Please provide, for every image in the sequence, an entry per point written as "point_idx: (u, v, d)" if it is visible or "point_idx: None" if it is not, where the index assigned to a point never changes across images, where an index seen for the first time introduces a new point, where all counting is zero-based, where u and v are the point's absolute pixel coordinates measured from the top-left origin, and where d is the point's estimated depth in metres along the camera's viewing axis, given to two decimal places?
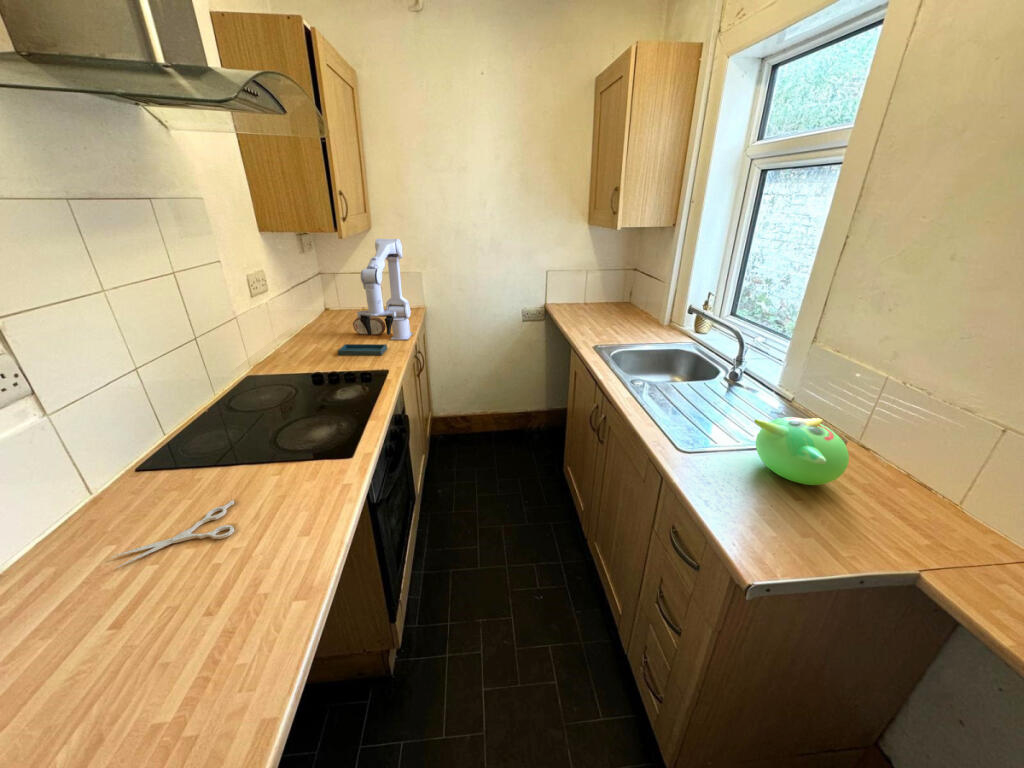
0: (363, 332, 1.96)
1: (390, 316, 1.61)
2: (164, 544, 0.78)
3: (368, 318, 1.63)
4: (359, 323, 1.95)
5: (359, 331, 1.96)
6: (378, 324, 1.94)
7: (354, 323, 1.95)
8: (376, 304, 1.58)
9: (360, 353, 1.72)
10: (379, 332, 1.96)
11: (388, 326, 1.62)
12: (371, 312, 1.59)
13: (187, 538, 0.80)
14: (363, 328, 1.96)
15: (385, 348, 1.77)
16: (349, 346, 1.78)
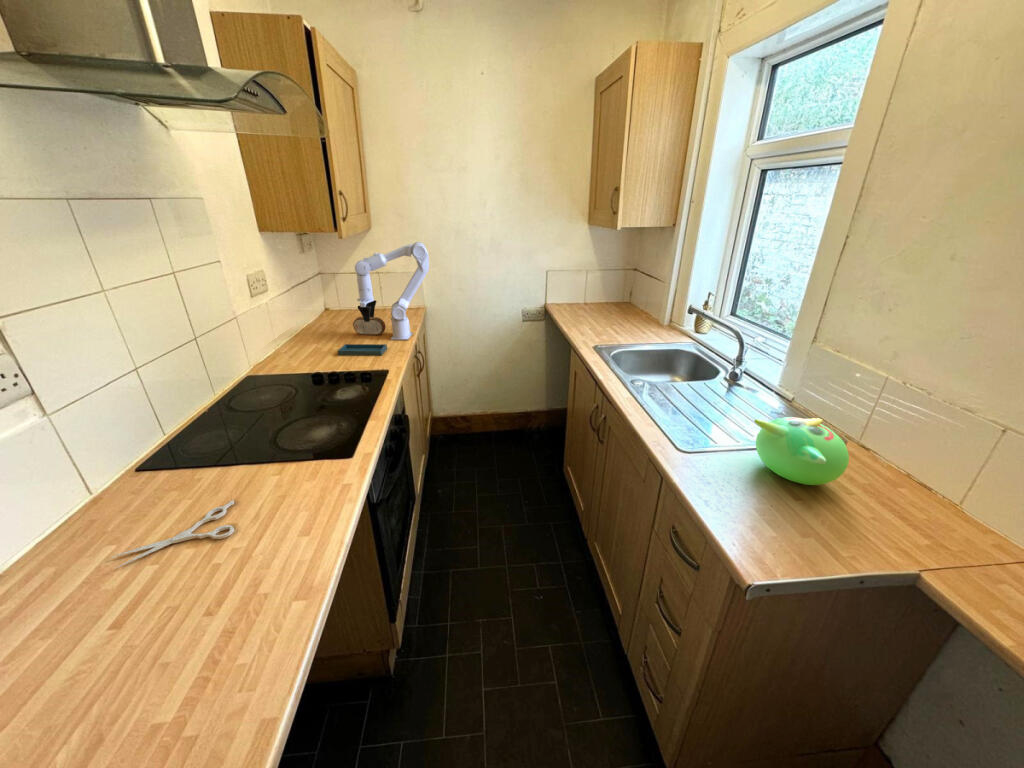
0: (363, 332, 1.96)
1: None
2: (164, 544, 0.78)
3: (370, 303, 1.88)
4: (359, 323, 1.95)
5: (359, 331, 1.96)
6: (378, 324, 1.94)
7: (354, 323, 1.95)
8: None
9: (360, 353, 1.72)
10: (379, 332, 1.96)
11: None
12: None
13: (187, 538, 0.80)
14: (363, 328, 1.96)
15: (385, 348, 1.77)
16: (349, 346, 1.78)
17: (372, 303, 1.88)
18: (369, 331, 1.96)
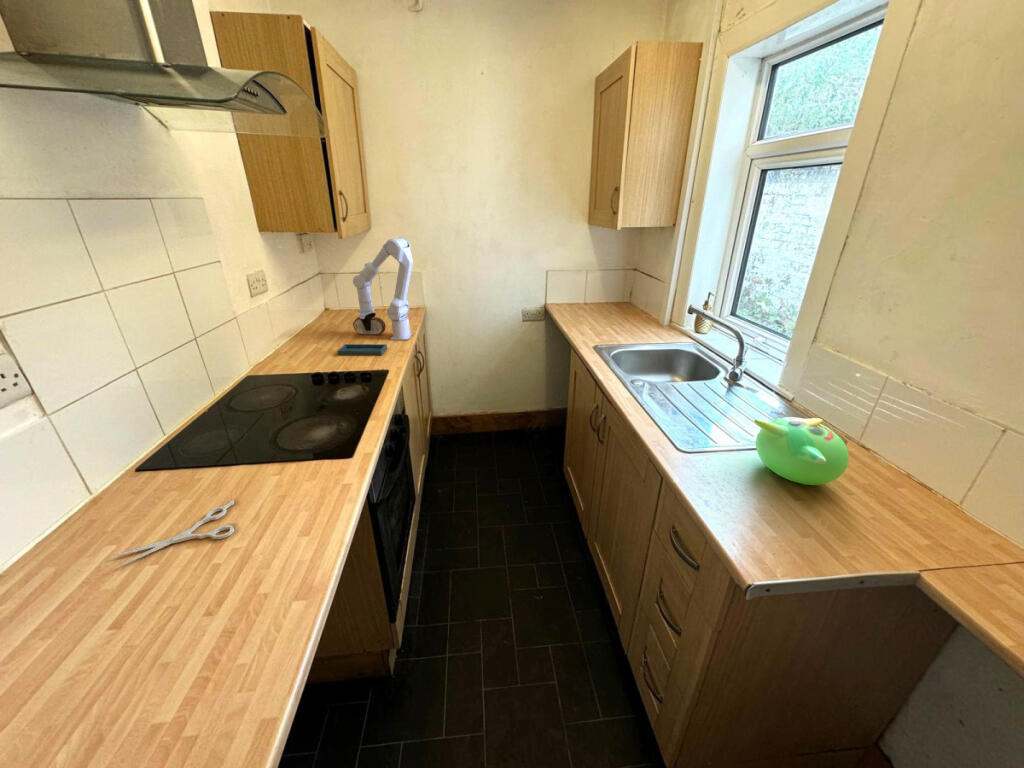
0: (363, 332, 1.96)
1: None
2: (164, 544, 0.78)
3: (370, 315, 1.95)
4: (359, 323, 1.95)
5: (359, 331, 1.96)
6: (378, 323, 1.94)
7: (354, 323, 1.95)
8: (359, 303, 1.90)
9: (360, 353, 1.72)
10: (379, 332, 1.96)
11: None
12: None
13: (187, 538, 0.80)
14: (363, 328, 1.96)
15: (385, 348, 1.77)
16: (349, 346, 1.78)
17: (371, 315, 1.95)
18: (369, 331, 1.96)
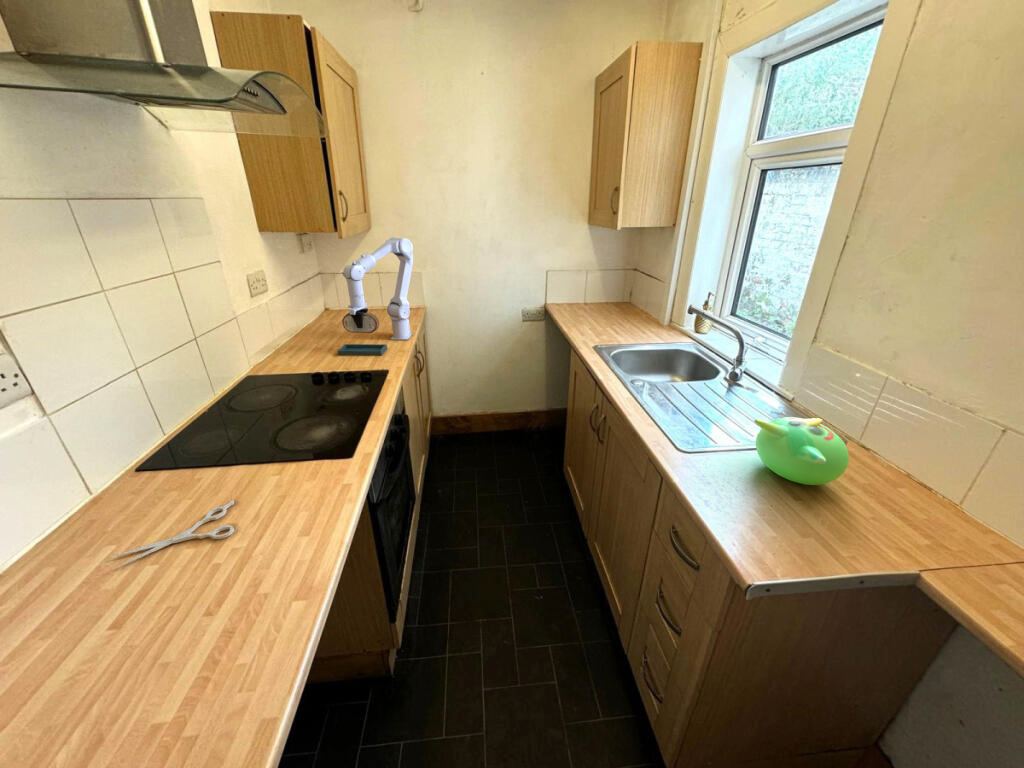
0: (354, 330, 1.76)
1: None
2: (164, 544, 0.78)
3: (361, 311, 1.75)
4: (349, 319, 1.74)
5: (349, 329, 1.76)
6: (371, 320, 1.74)
7: (344, 320, 1.74)
8: (349, 297, 1.70)
9: (360, 353, 1.72)
10: (372, 329, 1.75)
11: None
12: None
13: (187, 538, 0.80)
14: (354, 325, 1.75)
15: (385, 348, 1.77)
16: (349, 346, 1.78)
17: (363, 311, 1.75)
18: (360, 328, 1.75)
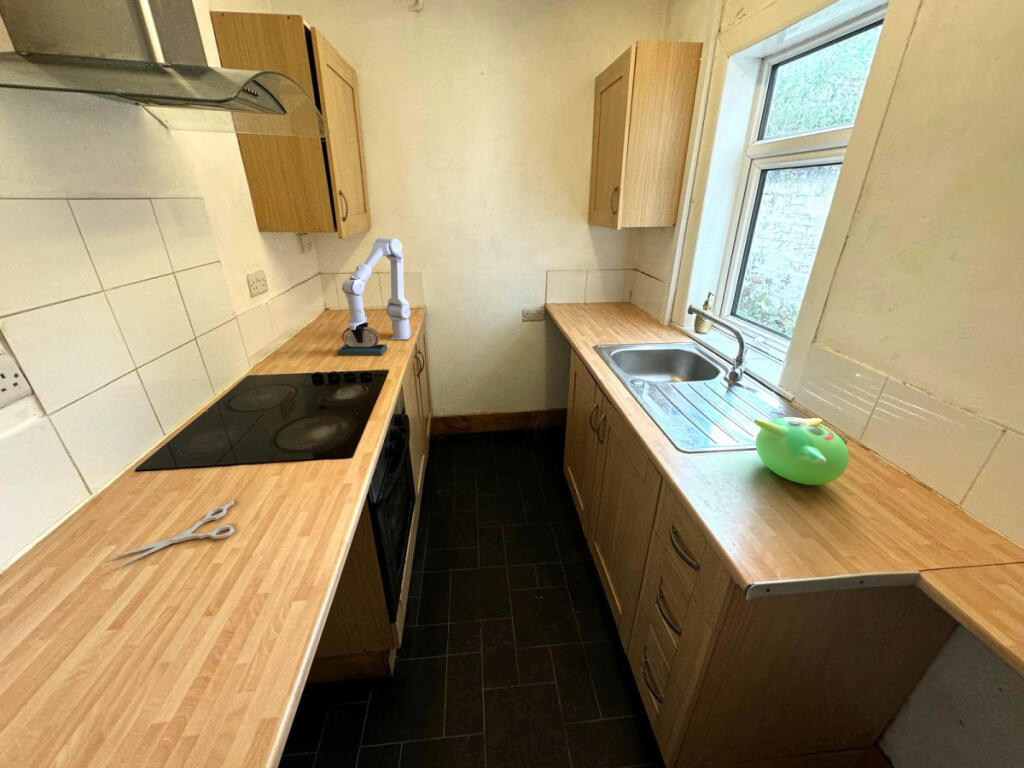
0: (354, 344, 1.73)
1: None
2: (164, 544, 0.78)
3: (361, 325, 1.72)
4: (349, 334, 1.71)
5: (349, 343, 1.73)
6: (371, 334, 1.71)
7: (343, 334, 1.71)
8: (349, 312, 1.67)
9: (360, 353, 1.72)
10: (372, 344, 1.73)
11: None
12: None
13: (187, 538, 0.80)
14: (354, 340, 1.72)
15: (385, 348, 1.77)
16: None
17: (363, 326, 1.72)
18: (361, 343, 1.73)
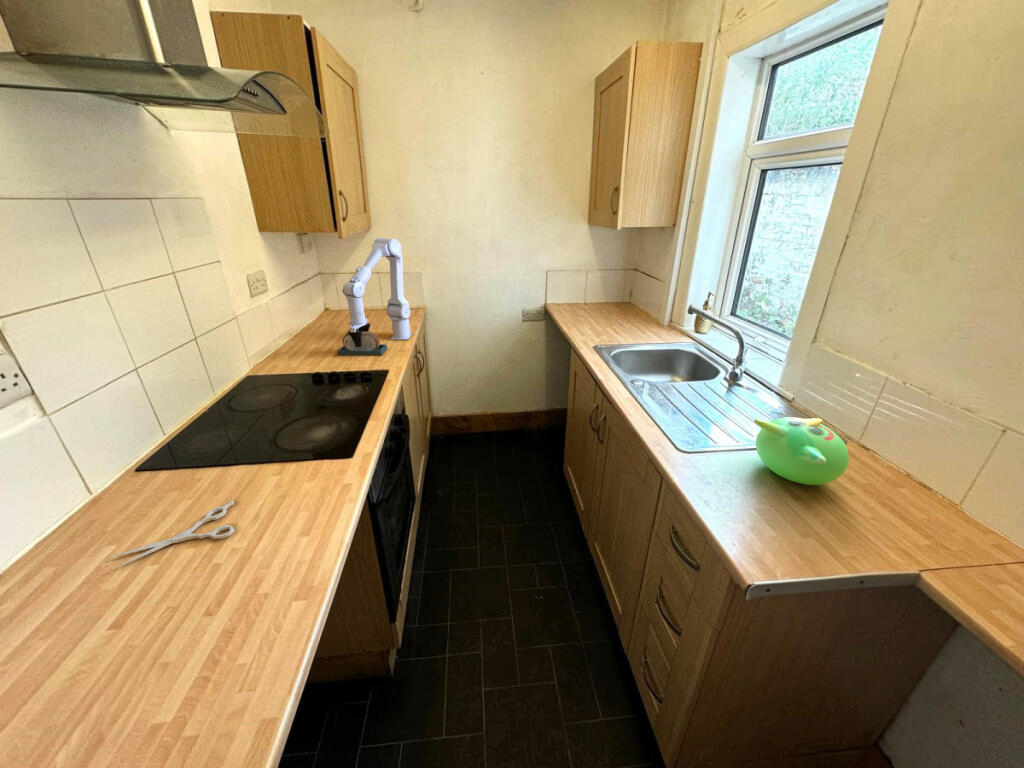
0: (354, 348, 1.74)
1: None
2: (164, 544, 0.78)
3: (364, 326, 1.75)
4: (349, 339, 1.72)
5: (350, 348, 1.74)
6: (372, 339, 1.72)
7: (344, 339, 1.72)
8: None
9: (360, 353, 1.72)
10: (373, 348, 1.74)
11: None
12: None
13: (187, 538, 0.80)
14: (354, 344, 1.73)
15: (385, 348, 1.77)
16: None
17: (365, 326, 1.75)
18: (361, 347, 1.74)
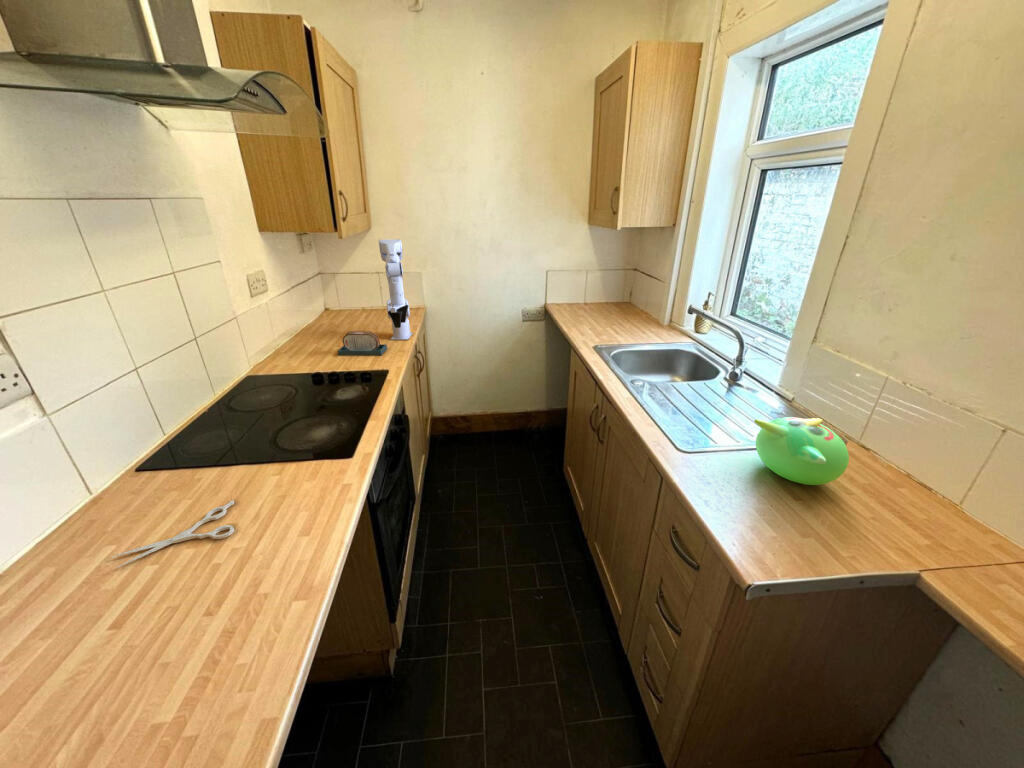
0: (354, 348, 1.74)
1: None
2: (164, 544, 0.78)
3: (402, 308, 1.77)
4: (349, 339, 1.72)
5: (350, 348, 1.74)
6: (372, 339, 1.72)
7: (344, 339, 1.72)
8: None
9: (360, 353, 1.72)
10: (373, 348, 1.74)
11: None
12: None
13: (187, 538, 0.80)
14: (354, 344, 1.73)
15: (385, 348, 1.77)
16: None
17: (404, 308, 1.77)
18: (361, 347, 1.74)
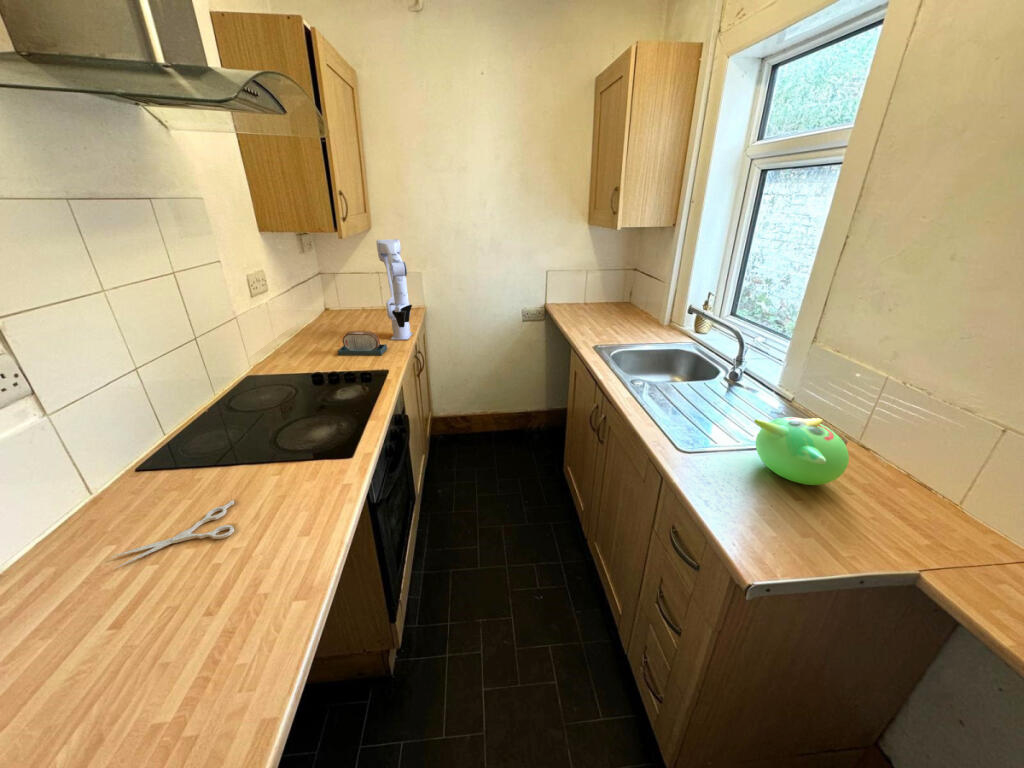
0: (354, 348, 1.74)
1: None
2: (164, 544, 0.78)
3: (406, 307, 1.77)
4: (349, 339, 1.72)
5: (350, 348, 1.74)
6: (372, 339, 1.72)
7: (344, 339, 1.72)
8: (393, 295, 1.70)
9: (360, 353, 1.72)
10: (373, 348, 1.74)
11: None
12: None
13: (187, 538, 0.80)
14: (354, 344, 1.73)
15: (385, 348, 1.77)
16: None
17: (407, 307, 1.77)
18: (361, 347, 1.74)
